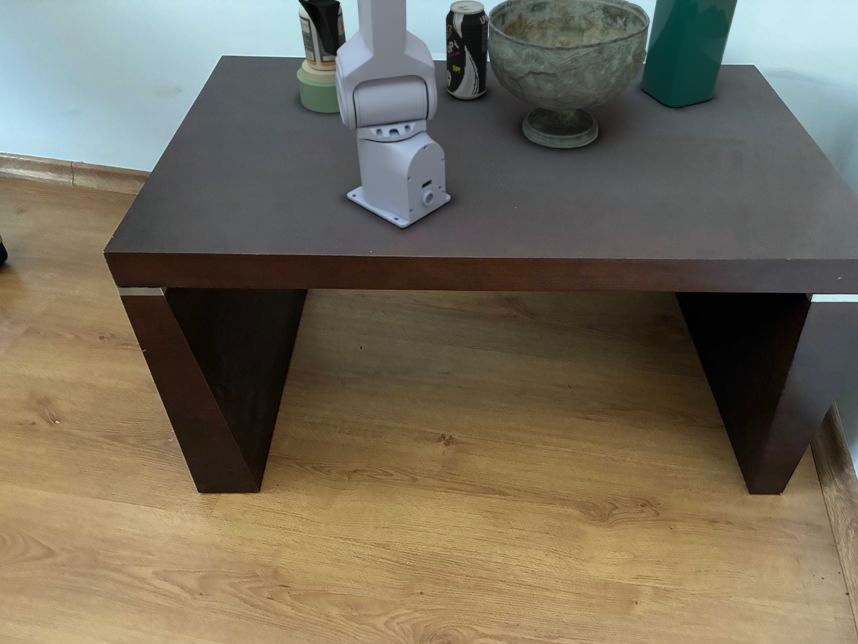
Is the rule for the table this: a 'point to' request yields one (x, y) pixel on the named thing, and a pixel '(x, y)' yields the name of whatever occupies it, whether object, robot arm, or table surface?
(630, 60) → the bowl
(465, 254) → the table surface
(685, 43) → the pitcher
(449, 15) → the beverage can
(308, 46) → the pill bottle
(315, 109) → the squat jar
